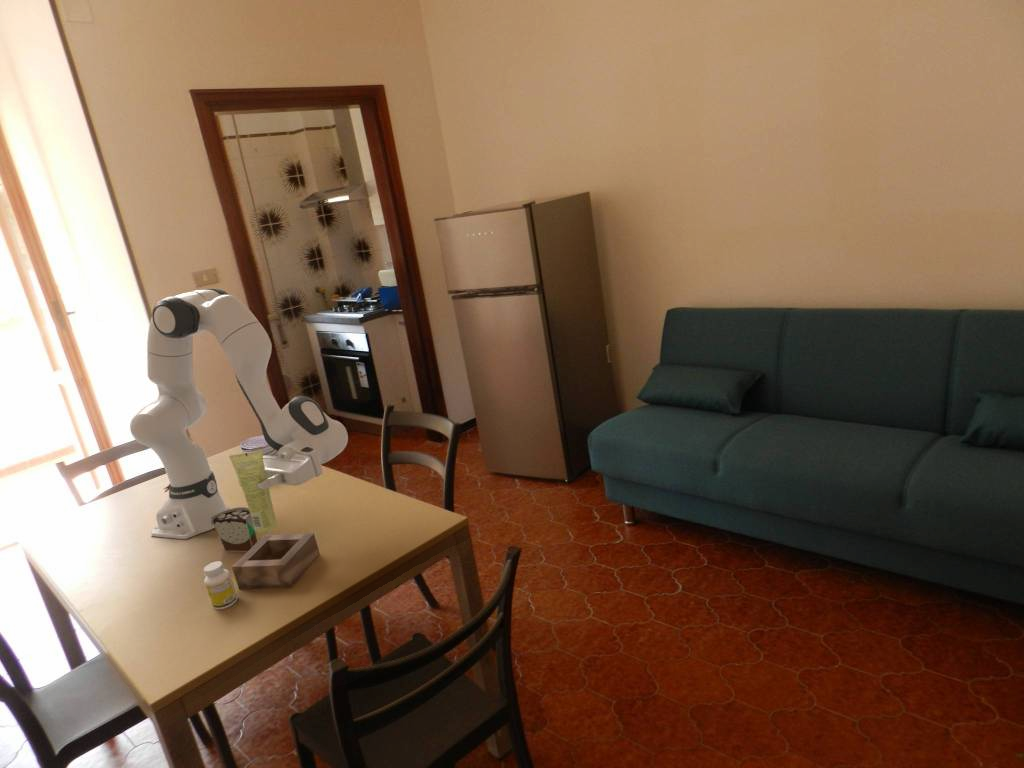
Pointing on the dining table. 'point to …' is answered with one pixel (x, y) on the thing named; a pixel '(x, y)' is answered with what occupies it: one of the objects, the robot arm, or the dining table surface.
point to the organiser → (276, 561)
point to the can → (257, 446)
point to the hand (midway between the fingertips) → (250, 485)
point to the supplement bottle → (219, 586)
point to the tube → (255, 489)
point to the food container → (235, 529)
